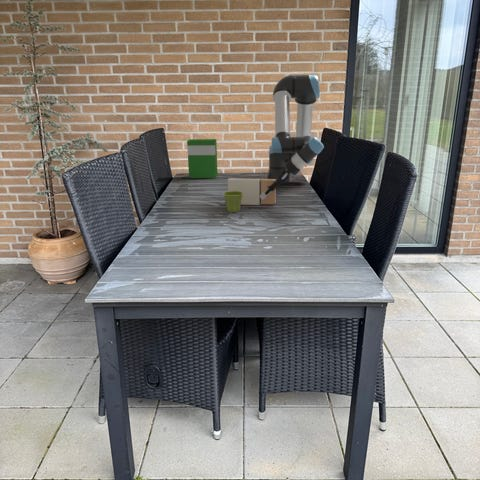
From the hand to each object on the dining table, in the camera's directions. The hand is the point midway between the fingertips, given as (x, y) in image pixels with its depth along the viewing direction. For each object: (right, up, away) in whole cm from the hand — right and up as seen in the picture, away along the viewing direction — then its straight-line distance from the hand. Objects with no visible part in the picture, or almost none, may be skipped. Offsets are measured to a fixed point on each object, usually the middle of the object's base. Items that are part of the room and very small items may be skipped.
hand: (261, 197), depth 224 cm
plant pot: (-14, -8, -10) cm, 19 cm away
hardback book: (-34, +19, +68) cm, 79 cm away
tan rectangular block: (+3, -4, +1) cm, 5 cm away
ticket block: (-8, -3, +3) cm, 9 cm away
